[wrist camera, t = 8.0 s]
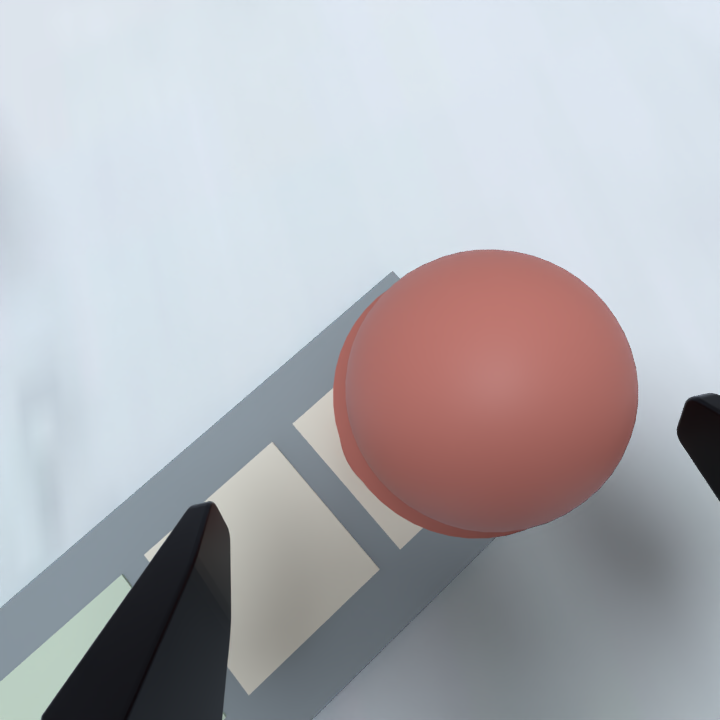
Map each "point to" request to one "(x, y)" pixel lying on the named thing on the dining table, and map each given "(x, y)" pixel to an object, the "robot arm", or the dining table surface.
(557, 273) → the pawn
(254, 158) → the dining table surface
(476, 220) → the dining table surface
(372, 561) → the track board
